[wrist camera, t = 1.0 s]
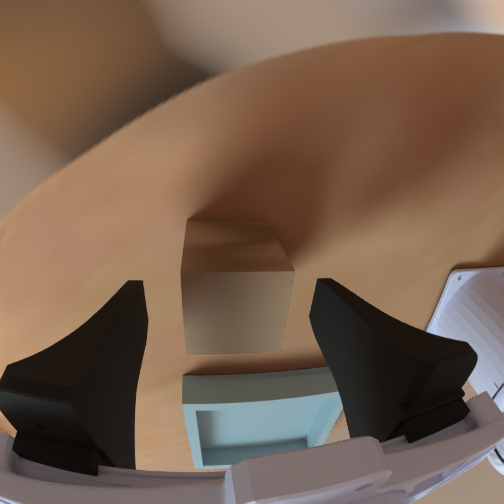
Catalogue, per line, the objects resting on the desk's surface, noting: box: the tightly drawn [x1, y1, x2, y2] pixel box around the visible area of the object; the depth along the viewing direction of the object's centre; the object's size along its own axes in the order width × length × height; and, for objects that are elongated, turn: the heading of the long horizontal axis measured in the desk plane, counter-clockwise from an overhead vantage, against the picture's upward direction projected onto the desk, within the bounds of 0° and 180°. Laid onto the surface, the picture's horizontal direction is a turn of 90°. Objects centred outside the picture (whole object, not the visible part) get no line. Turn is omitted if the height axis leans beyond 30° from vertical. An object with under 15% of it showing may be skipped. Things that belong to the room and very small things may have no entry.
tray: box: [182, 366, 343, 469], centre depth 22 cm, size 12×12×2 cm
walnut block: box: [181, 220, 295, 355], centre depth 14 cm, size 4×4×5 cm
